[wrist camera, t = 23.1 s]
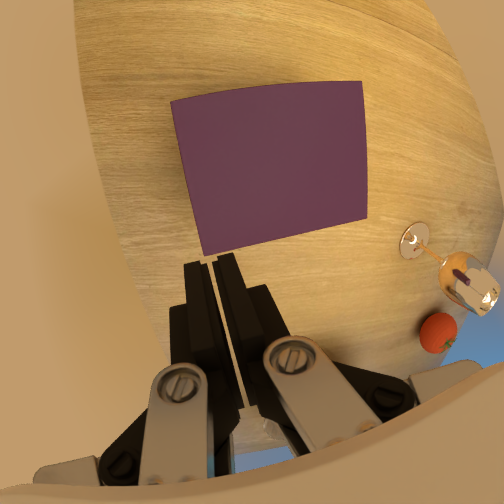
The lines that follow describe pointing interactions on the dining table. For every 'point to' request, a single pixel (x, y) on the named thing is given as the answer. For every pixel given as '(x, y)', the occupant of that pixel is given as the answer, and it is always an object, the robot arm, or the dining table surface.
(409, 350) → the dining table surface
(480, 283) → the wineglass
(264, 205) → the purple box lid
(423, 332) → the tomato
